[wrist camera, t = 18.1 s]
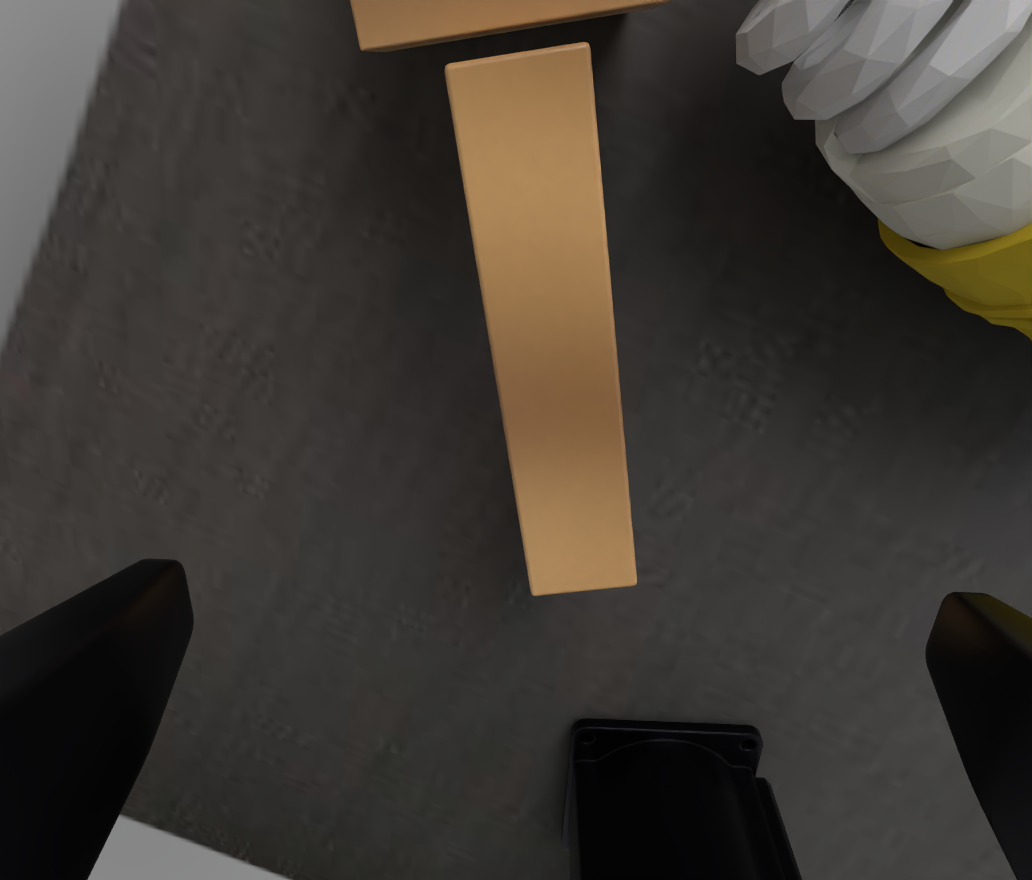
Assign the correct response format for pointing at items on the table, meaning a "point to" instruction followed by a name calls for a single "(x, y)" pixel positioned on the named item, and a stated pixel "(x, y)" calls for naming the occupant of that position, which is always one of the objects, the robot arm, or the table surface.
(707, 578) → the table surface
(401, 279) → the table surface
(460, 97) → the wooden blocks
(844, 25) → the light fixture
